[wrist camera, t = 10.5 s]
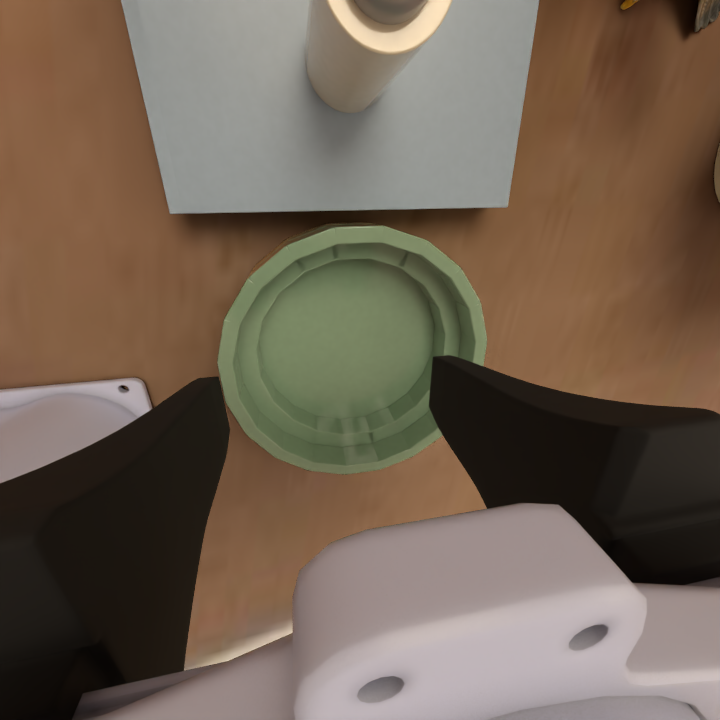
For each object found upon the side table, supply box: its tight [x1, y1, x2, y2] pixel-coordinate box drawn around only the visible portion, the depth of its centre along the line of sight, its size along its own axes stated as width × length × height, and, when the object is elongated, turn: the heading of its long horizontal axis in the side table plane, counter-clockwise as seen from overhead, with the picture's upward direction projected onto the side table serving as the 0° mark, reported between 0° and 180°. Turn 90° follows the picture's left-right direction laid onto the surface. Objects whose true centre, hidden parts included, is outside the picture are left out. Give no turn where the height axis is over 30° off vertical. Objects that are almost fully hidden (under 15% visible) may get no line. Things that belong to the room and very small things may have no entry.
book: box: [121, 0, 539, 214], centre depth 15 cm, size 16×11×2 cm
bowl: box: [217, 222, 487, 475], centre depth 19 cm, size 14×14×4 cm
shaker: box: [304, 0, 452, 113], centre depth 10 cm, size 4×4×8 cm
